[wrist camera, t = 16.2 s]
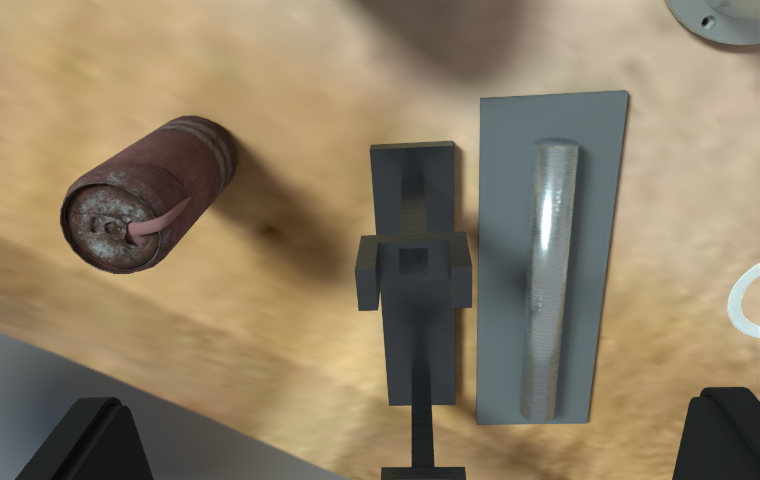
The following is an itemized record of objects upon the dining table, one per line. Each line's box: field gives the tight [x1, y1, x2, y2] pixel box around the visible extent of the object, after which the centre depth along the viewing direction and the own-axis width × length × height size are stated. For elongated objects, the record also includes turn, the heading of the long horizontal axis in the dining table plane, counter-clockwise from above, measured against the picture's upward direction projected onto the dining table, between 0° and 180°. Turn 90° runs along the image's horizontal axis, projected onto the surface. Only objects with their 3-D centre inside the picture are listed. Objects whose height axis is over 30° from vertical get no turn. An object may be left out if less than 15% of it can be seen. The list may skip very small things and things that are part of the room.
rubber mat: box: [476, 90, 628, 425], centre depth 45 cm, size 10×30×1 cm, turn 4°
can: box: [60, 116, 237, 274], centre depth 36 cm, size 6×6×14 cm
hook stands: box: [355, 141, 472, 480], centre depth 39 cm, size 6×24×16 cm, turn 4°
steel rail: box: [519, 138, 579, 423], centre depth 44 cm, size 24×3×3 cm, turn 4°
